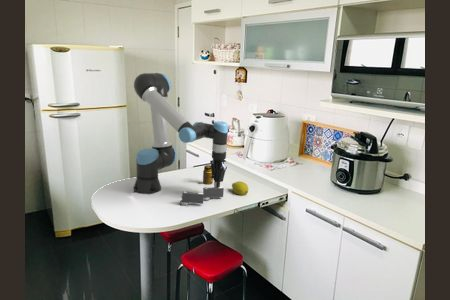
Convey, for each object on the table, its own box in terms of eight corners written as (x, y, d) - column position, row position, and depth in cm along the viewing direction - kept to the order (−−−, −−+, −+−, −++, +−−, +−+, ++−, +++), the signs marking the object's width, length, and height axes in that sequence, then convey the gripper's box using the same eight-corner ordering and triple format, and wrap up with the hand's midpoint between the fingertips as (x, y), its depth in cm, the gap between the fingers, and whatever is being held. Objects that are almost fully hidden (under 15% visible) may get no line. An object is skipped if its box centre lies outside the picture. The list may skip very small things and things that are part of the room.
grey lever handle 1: (178, 205, 164) (179, 193, 162) (180, 201, 169) (181, 189, 167) (202, 207, 164) (202, 195, 162) (203, 203, 168) (204, 191, 167)
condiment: (215, 186, 196) (216, 167, 193) (203, 188, 191) (204, 169, 188) (209, 182, 202) (210, 163, 198) (197, 184, 197) (198, 165, 194)
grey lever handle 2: (201, 201, 171) (202, 189, 169) (200, 197, 175) (200, 186, 173) (223, 200, 174) (224, 188, 172) (221, 196, 178) (222, 185, 176)
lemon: (251, 196, 184) (252, 183, 181) (240, 199, 179) (241, 186, 177) (238, 190, 192) (239, 177, 189) (228, 193, 187) (229, 180, 185)
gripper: (206, 148, 173) (204, 189, 180) (220, 155, 163) (217, 198, 170) (218, 147, 177) (215, 186, 184) (232, 153, 167) (228, 195, 174)
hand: (216, 192), depth 177 cm, fingers closed
